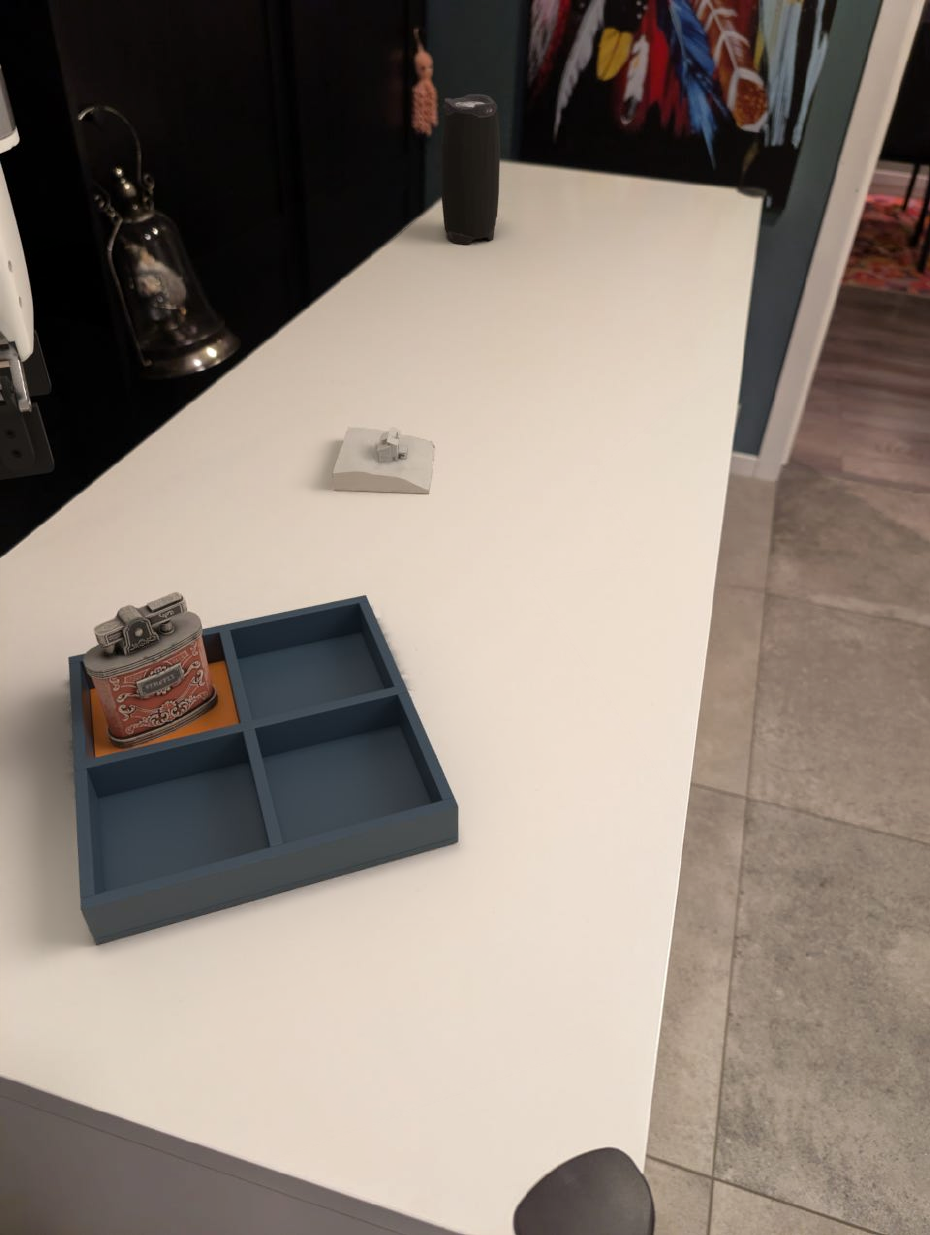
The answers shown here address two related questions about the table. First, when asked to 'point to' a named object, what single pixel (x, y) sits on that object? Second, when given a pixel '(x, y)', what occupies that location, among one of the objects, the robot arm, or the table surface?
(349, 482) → the miniature house
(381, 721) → the tray
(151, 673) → the lighter
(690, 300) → the table surface
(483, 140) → the portable speaker
